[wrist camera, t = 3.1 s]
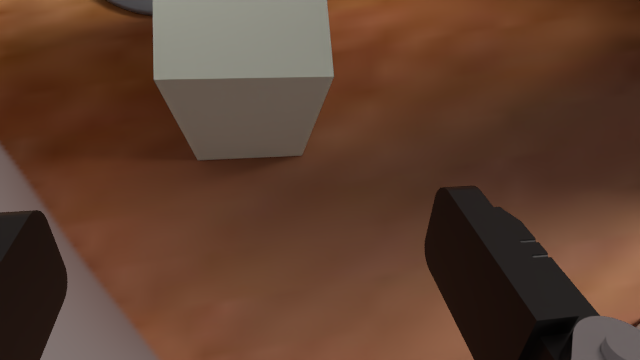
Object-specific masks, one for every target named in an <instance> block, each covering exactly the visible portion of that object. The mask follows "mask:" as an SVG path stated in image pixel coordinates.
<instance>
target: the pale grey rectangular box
mask: <svg viewBox="0 0 640 360" xmlns="http://www.w3.org/2000/svg"><path fill="white" fill-rule="evenodd" d="M153 70H154V81H155V83H156V85H157V87H158V89H159V90H160V92H161V94H162V96H163V98H164V100H165V101H166V103H167V105H168V107H169V109H170V111H171V112H172V114H173V116H174V118H175V120H176V121H177V123H178V125H179V127H180V129H181V131H182V132H183V134H184V136H185V138H186V140H187V142H188V143H189V145H190V147H191V149H192V151H193V153H194V154H195V156H196V158H197V160H215V159H237V158H260V157H282V156H302V154H303V152H304V149H305V147H306V144H307V142H308V139H309V137H310V135H311V132H312V130H313V127H314V125H315V122H316V120H317V117H318V115H319V112H320V110H321V107H322V105H323V102H324V100H325V97H326V95H327V92H328V90H329V88H330V85H331V83H332V80H333V78H334V72H333V61H332V50H331V39H330V29H329V18H328V7H327V0H153Z"/></svg>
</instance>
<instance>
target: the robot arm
mask: <svg viewBox="0 0 640 360" xmlns="http://www.w3.org/2000/svg"><path fill="white" fill-rule="evenodd" d="M425 257H426V262H427V265H428V268H429V270H430V272H431V274H432V276H433V278H434V280H435V282H436V284H437V286H438V288H439V290H440V292H441V294H442V296H443V298H444V300H445V302H446V304H447V306H448V308H449V310H450V312H451V314H452V316H453V318H454V320H455V322H456V324H457V326H458V328H459V330H460V332H461V334H462V336H463V338H464V340H465V342H466V344H467V346H468V348H469V350H470V352H471V354H472V356H473V358H474V360H640V330H639V329H638V328H636V327H634V326H632V325H630V324H628V323H626V322H623V321H621V320H618V319H614V318H610V317H605V316H600V315H599V314H598V313H597V312H596V310H595V309H594V308H593V307H592V306H591V304H590V303H589V302H588V301H587V300H586V298H585V297H584V296H583V295H582V294H581V292H580V291H579V290H578V289H577V288H576V287H575V285H574V284H573V283H572V282H571V281H570V279H569V278H568V277H567V276H566V275H565V273H564V272H563V271H562V270H561V269H560V267H559V266H558V265H557V264H556V263H555V261H554V260H553V259H552V258H551V257H548V253H547V252H546V251H545V249H544V248H543V247H542V246H541V245H540V243H539V242H536V241H535V238H534V236H533V235H532V234H531V233H530V232H529V230H528V229H527V228H526V227H525V226H524V224H523V223H522V222H521V221H520V220H518V219H517V218H515V217H514V216H512V215H511V214H509V213H508V212H506V211H505V210H503V209H502V208H501V207H493V206H492V205H491V203H490V202H489V201H488V200H487V198H486V197H485V196H484V194H483V193H482V192H481V191H480V189H479V188H477V187H476V186H460V187H443V188H440V189H439V190H438V191H437V193H436V196H435V200H434V204H433V208H432V213H431V217H430V221H429V225H428V230H427V234H426V238H425ZM66 291H67V272H66V268H65V265H64V262H63V260H62V257H61V255H60V252H59V249H58V247H57V244H56V242H55V239H54V237H53V234H52V232H51V229H50V226H49V224H48V221H47V219H46V217H45V215H44V214H43V213H42V212H41V211H38V210H36V211H19V212H2V213H0V360H40V358H41V356H42V353H43V351H44V348H45V346H46V344H47V341H48V339H49V336H50V334H51V331H52V329H53V326H54V324H55V321H56V319H57V316H58V314H59V311H60V309H61V307H62V304H63V302H64V299H65V296H66Z"/></svg>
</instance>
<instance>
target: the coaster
mask: <svg viewBox="0 0 640 360" xmlns="http://www.w3.org/2000/svg"><path fill="white" fill-rule="evenodd" d="M106 1H108V2H110V3H111V4H113V5H115V6H118V7H120V8H122V9H125V10H128V11H131V12H135V13H139V14H144V15H151V16H153V0H106Z"/></svg>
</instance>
